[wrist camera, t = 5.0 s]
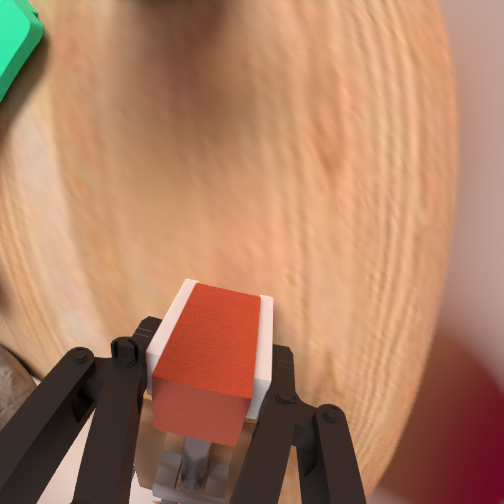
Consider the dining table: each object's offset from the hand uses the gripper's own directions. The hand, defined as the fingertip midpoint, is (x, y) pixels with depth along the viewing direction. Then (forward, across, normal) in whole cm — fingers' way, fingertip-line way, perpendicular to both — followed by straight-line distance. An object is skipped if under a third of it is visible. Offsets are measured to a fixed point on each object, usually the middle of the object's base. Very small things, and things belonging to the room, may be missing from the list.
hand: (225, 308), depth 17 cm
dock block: (+2, 0, -20) cm, 20 cm away
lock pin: (-1, 0, -7) cm, 7 cm away
